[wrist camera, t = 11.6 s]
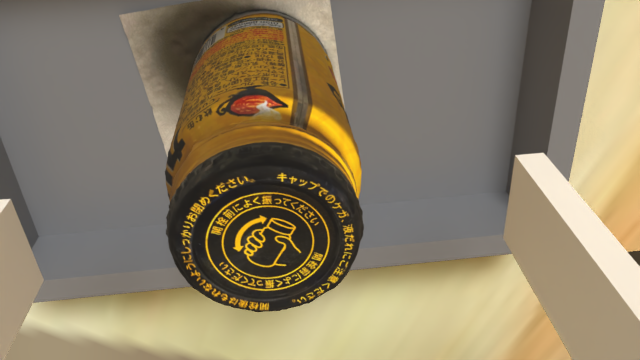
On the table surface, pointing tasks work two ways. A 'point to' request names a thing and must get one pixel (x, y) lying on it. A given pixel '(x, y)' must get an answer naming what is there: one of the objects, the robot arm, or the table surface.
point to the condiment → (252, 147)
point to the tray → (360, 106)
